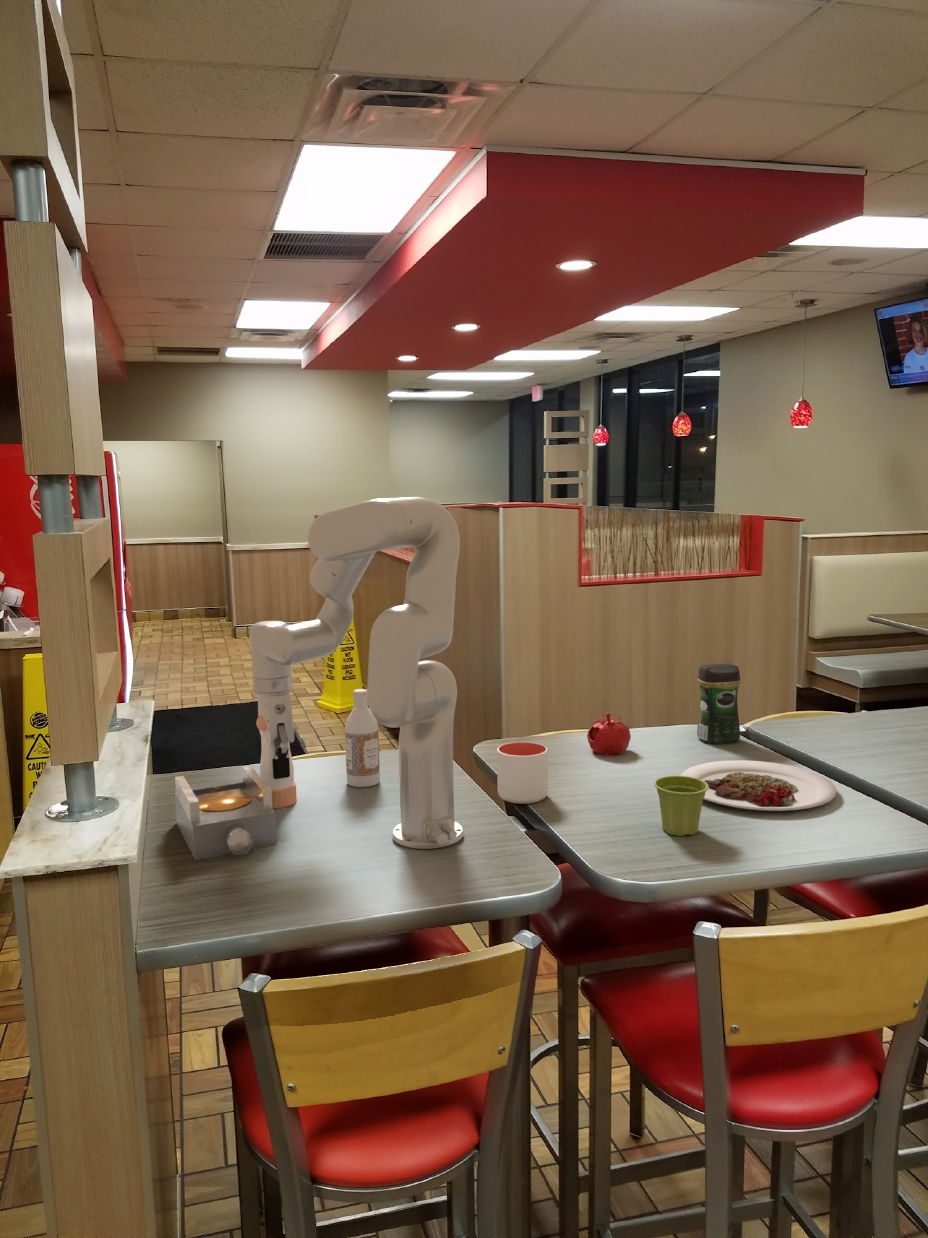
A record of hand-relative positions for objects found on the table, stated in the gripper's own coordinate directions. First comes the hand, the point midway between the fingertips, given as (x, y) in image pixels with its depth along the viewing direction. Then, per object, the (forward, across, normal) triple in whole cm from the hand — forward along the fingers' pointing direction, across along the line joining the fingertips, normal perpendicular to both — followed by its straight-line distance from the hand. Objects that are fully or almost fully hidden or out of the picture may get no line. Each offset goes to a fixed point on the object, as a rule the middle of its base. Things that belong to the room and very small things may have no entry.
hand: (276, 772), depth 184 cm
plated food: (+7, -40, -87) cm, 96 cm away
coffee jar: (+6, -8, -105) cm, 106 cm away
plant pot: (+6, -50, -60) cm, 78 cm away
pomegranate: (+6, -3, -77) cm, 77 cm away
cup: (+6, -21, -44) cm, 49 cm away
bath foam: (+6, +3, -19) cm, 20 cm away
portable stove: (+6, -14, +13) cm, 20 cm away
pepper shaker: (+6, 0, 0) cm, 6 cm away
